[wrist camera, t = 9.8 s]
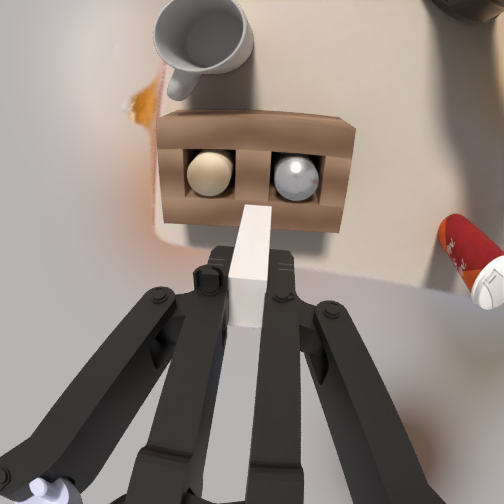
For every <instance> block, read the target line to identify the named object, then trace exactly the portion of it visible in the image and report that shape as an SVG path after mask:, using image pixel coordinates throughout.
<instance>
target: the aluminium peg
mask: <svg viewBox="0 0 504 504" xmlns="http://www.w3.org/2000/svg"><path fill="white" fill-rule="evenodd" d="M274 177H275V186H276V189H277V190H278V192H279V193H280V194H281V195H282V196H283V197H285V198H286V199H289V200H293V201H300V200H304V199H307V198H309V197H310V196H311V195H312V194H313V193H314V192H315V191H316V189H317V187H318V183H319V177H318V173H317V171H316V168H315V166H314V164H313V162H312V160H311V158H310V155H309V154H300V153H288V152H275V155H274Z"/></svg>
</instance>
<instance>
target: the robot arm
mask: <svg viewBox="0 0 504 504" xmlns="http://www.w3.org/2000/svg"><path fill="white" fill-rule="evenodd" d="M432 1H433V2H434V3H435V4H436V5H437V6H438V7H439V8H441V9H442V10H443V11H445V12H446V13H447V14H449V15H451V16H452V17H454V18H456V19H458V20H461V21H463V22H467V23H485V22H489V21H492V20H494V19H495V18H497V17H498V16H499V14H500V13H502V12H504V0H432ZM271 209H272V207H271V206H258V205H245V207H244V211H243V215H242V219H241V224H240V228H239V232H238V236H237V240H236V245H235V247H227V246H217V247H216V248H214V249H213V250H212V251H211V254H210V257H209V260H208V264H207V265H203V266H200V267H198V268H197V269H196V270H195V271H194V272H193V278H194V291H191V292H189V293H184V294H177V295H175V293H174V292H173V291H172V290H171V289H170V288H168V287H155V288H152V289H150V290H149V291H147V292H146V293H145V294H144V295H143V297H142V298H141V299H140V300H139V301H138V302H137V304H136V305H135V306H134V307H133V308H132V309H131V311H130V312H129V313H128V314H127V315H126V316H125V317H124V319H123V320H122V321H121V322H120V323H119V325H118V326H117V327H116V328H115V330H114V331H113V332H112V333H111V334H110V335H109V336H108V338H107V339H106V340H105V341H104V343H103V344H102V345H101V346H100V347H99V349H98V350H97V351H96V352H95V354H94V355H93V356H92V357H91V358H90V360H89V361H88V362H87V363H86V365H85V366H84V367H83V368H82V370H81V371H80V372H79V373H78V375H77V376H76V377H75V378H74V380H73V381H72V382H71V383H70V385H69V386H68V387H67V389H66V390H65V391H64V392H63V394H62V395H61V396H60V398H59V399H58V400H57V402H56V403H55V404H54V406H53V407H52V408H51V410H50V411H49V412H48V414H47V415H46V416H45V418H44V419H43V420H42V422H41V423H40V424H39V426H38V427H37V429H36V430H35V431H34V433H33V434H32V435H31V437H30V438H28V439H27V440H25V441H24V442H23V443H21V444H19V445H18V446H16V447H15V448H13V449H12V450H10V451H9V452H7V453H6V454H4V455H3V456H1V457H0V495H1V496H3V497H6V498H8V499H10V500H12V501H14V503H15V504H83V502H82V498H81V495H80V494H81V493H82V492H83V491H84V490H85V489H86V488H87V487H88V486H89V485H90V484H91V483H92V482H93V481H94V479H95V478H96V476H97V475H98V474H99V472H100V471H101V469H102V468H103V466H104V464H105V463H106V461H107V460H108V458H109V456H110V455H111V453H112V451H113V450H114V448H115V447H116V445H117V444H118V442H119V440H120V438H121V437H122V436H123V434H124V432H125V431H126V429H127V428H128V426H129V424H130V423H131V421H132V420H133V418H134V417H135V415H136V414H137V412H138V410H139V409H140V407H141V406H142V404H143V403H144V401H145V399H146V398H147V396H148V394H149V393H150V392H151V390H152V388H153V387H154V385H155V384H156V382H157V381H158V379H159V377H160V376H161V374H162V373H163V371H164V370H165V368H166V366H167V365H168V363H169V362H170V360H171V359H172V360H171V363H170V366H169V369H168V373H167V376H166V379H165V383H164V386H163V389H162V393H161V396H160V399H159V403H158V406H157V410H156V413H155V417H154V421H153V424H152V427H151V431H150V435H149V438H148V442H147V444H146V446H145V447H143V448H141V449H140V451H139V452H138V455H137V457H136V460H135V464H134V467H133V471H132V475H131V479H130V483H129V487H128V491H127V494H124V495H122V496H121V497H119V498H117V499H116V500H114V501H113V502H112V503H110V504H216V503H212V502H209V501H207V500H204V499H202V498H201V496H202V488H203V471H204V466H205V459H206V453H207V448H208V442H209V436H210V430H211V424H212V418H213V413H214V407H215V401H216V395H217V390H218V384H219V378H220V373H221V367H222V361H223V356H224V349H225V344H226V339H227V325H230V326H240V327H251V328H262V331H261V341H260V353H259V363H258V375H257V387H256V397H255V407H254V418H253V428H252V439H251V448H250V459H249V469H248V477H247V486H246V495H245V501H239V502H231V503H222V504H303V501H304V500H303V499H304V472H303V468H302V466H301V458H300V457H301V386H300V385H301V383H300V351H301V352H304V355H305V358H306V361H307V364H308V367H309V370H310V373H311V376H312V379H313V381H314V384H315V387H316V390H317V393H318V396H319V399H320V402H321V405H322V408H323V411H324V414H325V417H326V420H327V423H328V426H329V429H330V432H331V435H332V439H333V442H334V445H335V448H336V451H337V454H338V457H339V460H340V463H341V466H342V469H343V472H344V475H345V479H346V481H347V485H348V488H349V491H350V494H351V497H352V501H353V504H446V503H445V502H444V501H443V500H442V499H441V498H440V497H439V496H438V494H437V493H436V492H435V491H434V490H433V489H432V488H431V487H430V486H429V485H428V483H427V480H426V478H425V476H424V473H423V471H422V468H421V466H420V463H419V461H418V458H417V456H416V454H415V451H414V449H413V447H412V444H411V442H410V440H409V437H408V435H407V433H406V431H405V428H404V426H403V424H402V422H401V419H400V417H399V415H398V413H397V411H396V408H395V406H394V404H393V402H392V400H391V398H390V395H389V393H388V391H387V389H386V387H385V385H384V383H383V381H382V379H381V377H380V375H379V373H378V370H377V368H376V366H375V364H374V362H373V360H372V358H371V356H370V354H369V352H368V350H367V348H366V346H365V344H364V342H363V341H362V338H361V336H360V334H359V333H358V331H357V329H356V327H355V325H354V323H353V321H352V319H351V317H350V315H349V313H348V312H347V310H346V309H345V307H344V306H343V305H341V304H339V303H338V302H335V301H323V302H320V303H319V304H317V306H314V305H311V304H308V303H306V302H304V301H302V300H301V299H300V298H299V297H298V296H297V294H296V291H295V274H294V257H293V256H292V254H291V253H290V251H285V250H273V249H269V244H270V227H271Z"/></svg>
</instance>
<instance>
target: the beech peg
mask: <svg viewBox="0 0 504 504" xmlns="http://www.w3.org/2000/svg"><path fill="white" fill-rule="evenodd" d="M235 165H236V150H232V149H202V151H201V152H200V153H199V154H198V155H197V156H196V158H195V159H194V160H193V161H192V162H191V164H190V165H189V167H188V170H187V179H188V182H189V184H190V186H191V187H192V189H193V190H194V191H196V192H197V193H199V194H201V195H204V196H215V195H218V194H220V193H221V192H223V191H224V190H225V189H226V188H227V186H228V184H229V181H230V179H231V176H232V173H233V171H234V168H235Z"/></svg>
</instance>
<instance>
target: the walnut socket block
mask: <svg viewBox="0 0 504 504" xmlns="http://www.w3.org/2000/svg"><path fill="white" fill-rule="evenodd" d="M156 131H157V149H158V164H159V177H160V188H161V199H162V209H163V218H164V223H174V224H196V225H217V226H235V227H240V224H241V219H242V215H243V211H244V207H245V205H258V206H271V207H272V209H271V227H270V229H286V230H301V231H315V232H329V233H339V230H340V225H341V220H342V214H343V209H344V203H345V198H346V192H347V186H348V180H349V174H350V167H351V161H352V154H353V147H354V139H355V132H356V128H354V127H353V126H351V125H350V124H348V123H347V122H345V121H344V120H342V119H340V118H338V117H331V116H322V115H314V114H304V113H293V112H280V111H263V110H237V109H195V110H177V111H174V112H172V113H170V114H167V115H165V116H163V117H161V118H158V119H156ZM200 149H232V150H236V175H232V176H231V179H230V181H229V184H228V186H227V188H226V189H225V190H224V191H223V192H221V193H220V194H218V195H215V196H204V195H201V194H199V193H197V192H196V191H194V190H193V189H192V187H191V186H190V184H189V182H188V179H187V170H188V167H189V165H190V164H191V162H192V161H193V160H194V159H195V158H196V156H197V155H198V154H199V153H200ZM271 151H274V152H288V153H300V154H312V155H313V164H314V166H315V168H316V171H317V173H318V177H319V183H318V187H317V189H316V191H315V192H314V193H313V194H312V195H311V196H310V197H309V198H307V199H304V200H300V201H293V200H289V199H286V198H285V197H283V196H282V195H281V194H280V193H279V192H278V190H277V189H276V186H275V177H270V164H271Z"/></svg>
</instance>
